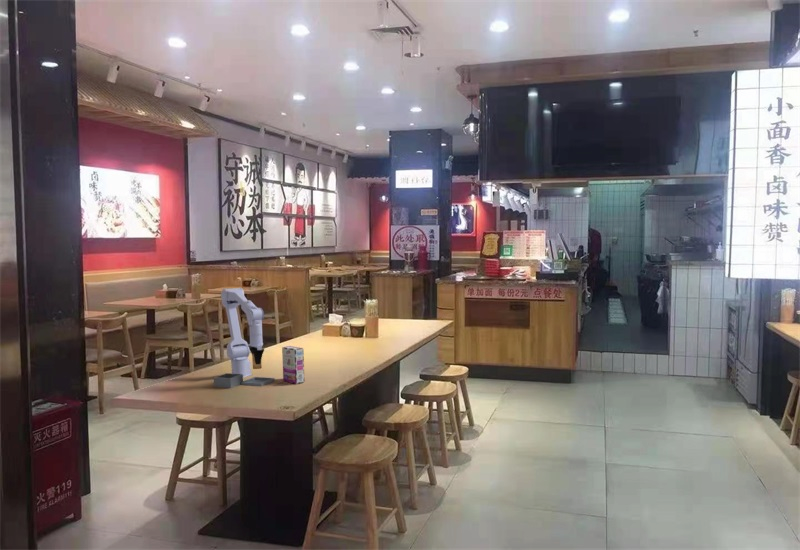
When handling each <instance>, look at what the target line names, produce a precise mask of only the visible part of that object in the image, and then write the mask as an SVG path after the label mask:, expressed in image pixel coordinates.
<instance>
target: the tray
mask: <svg viewBox="0 0 800 550" xmlns="http://www.w3.org/2000/svg"><path fill="white" fill-rule="evenodd" d="M275 380H276V379H275V377H265V376H264V377H262V376H261V377H260V376H253V377H251V378H248V379H245V380H243V382H241V386H251V387H253V386H255V387H263V386H265V385H268V384H271V383H272V382H275Z"/></svg>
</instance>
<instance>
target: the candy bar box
mask: <svg viewBox="0 0 800 550" xmlns="http://www.w3.org/2000/svg"><path fill="white" fill-rule="evenodd" d="M281 348H282V349H281V353H282V379H283V382H286V383H291V384H294V385H298V384H304V383H305V361H304V360H305V358H304V355H305V354H304V347H300V346H299V347H298V346H293V345H286V346H282V347H281Z"/></svg>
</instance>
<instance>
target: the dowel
mask: <svg viewBox="0 0 800 550" xmlns="http://www.w3.org/2000/svg"><path fill="white" fill-rule="evenodd" d="M251 356H252V358H251V359H252V369H253V370H260V369H263V368H262V363H261V364H256V363H255V358H254V354H253V353H251Z"/></svg>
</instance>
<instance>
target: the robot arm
mask: <svg viewBox="0 0 800 550" xmlns="http://www.w3.org/2000/svg"><path fill="white" fill-rule="evenodd" d="M220 298H221V304H222V307H224V308H225V312H226V318H227V322H228V328H229V333H230V334H229V335H230V339H231V340H230V341H229V342H228V343H227V345H226V355H227V358H228V360H230V364H231V366H230V368H231V374H243V379H244V378H246V377H248V376H249V377H250V376H253V374H252V368H251V361H250V359H249V356H250V355H251V354H252V353H253V354H254V358H255V363H256V364H261V365H262V358H263V354H264V352H265V349H264V348H263V346H264V342H263V341H264V339H263V320H264V318H265V312H264V310H263V308H262V307H257V306H256V305H255V304H254V302H252V300H250V299H249V300H248V299H247V297H246V296H245V291H244V289H243V288H242V287H235V288H223V289H222V290H221V292H220ZM239 306H240V307H241V311H243V312H244V314H245V315H246V320H247V325H248V326H249V343H248V342H247V341H246V340H245V339H243V338H242V332H241V327H240V321H239V315H238V310H237V308H238V307H239Z"/></svg>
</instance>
